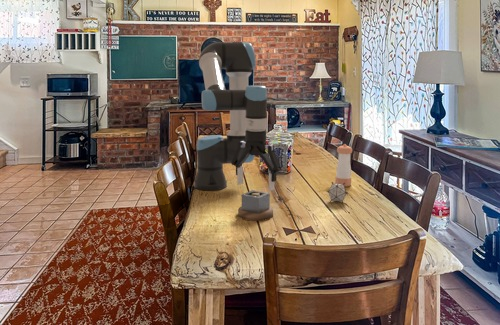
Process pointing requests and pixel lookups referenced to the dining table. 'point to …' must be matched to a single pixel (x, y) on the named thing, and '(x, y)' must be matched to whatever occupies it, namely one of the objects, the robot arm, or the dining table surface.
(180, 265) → the dining table surface
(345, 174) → the pepper shaker
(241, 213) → the round base with post
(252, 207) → the hollow square box
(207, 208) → the dining table surface
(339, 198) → the game die
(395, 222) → the dining table surface
